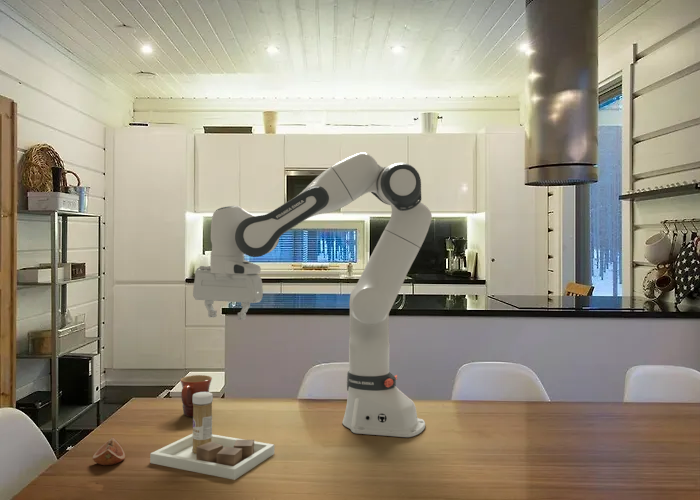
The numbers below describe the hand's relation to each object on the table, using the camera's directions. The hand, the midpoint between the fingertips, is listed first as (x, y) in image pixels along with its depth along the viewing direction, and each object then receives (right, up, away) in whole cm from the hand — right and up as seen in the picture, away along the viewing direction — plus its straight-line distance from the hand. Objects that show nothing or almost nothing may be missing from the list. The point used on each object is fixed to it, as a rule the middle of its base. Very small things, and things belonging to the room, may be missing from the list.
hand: (226, 318), depth 154 cm
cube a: (+7, -29, -31) cm, 43 cm away
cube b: (+2, -29, -28) cm, 40 cm away
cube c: (+9, -29, -26) cm, 40 cm away
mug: (-12, -29, +9) cm, 33 cm away
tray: (+2, -29, -25) cm, 38 cm away
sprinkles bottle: (-1, -29, -20) cm, 35 cm away
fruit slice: (-20, -30, -27) cm, 45 cm away
